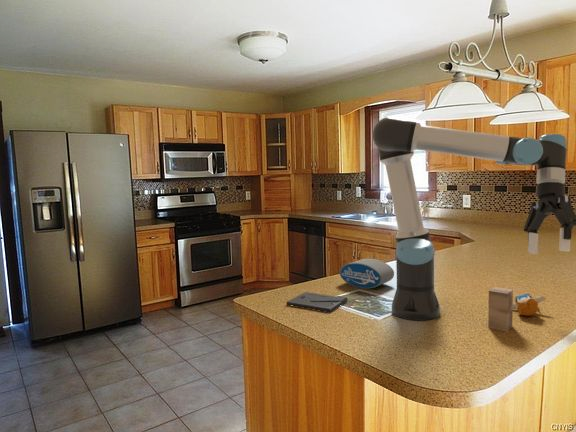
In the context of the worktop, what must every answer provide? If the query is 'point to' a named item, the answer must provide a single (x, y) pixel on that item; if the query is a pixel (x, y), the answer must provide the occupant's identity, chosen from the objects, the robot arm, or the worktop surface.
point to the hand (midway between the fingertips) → (547, 252)
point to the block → (500, 308)
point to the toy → (527, 304)
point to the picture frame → (318, 301)
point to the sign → (366, 273)
